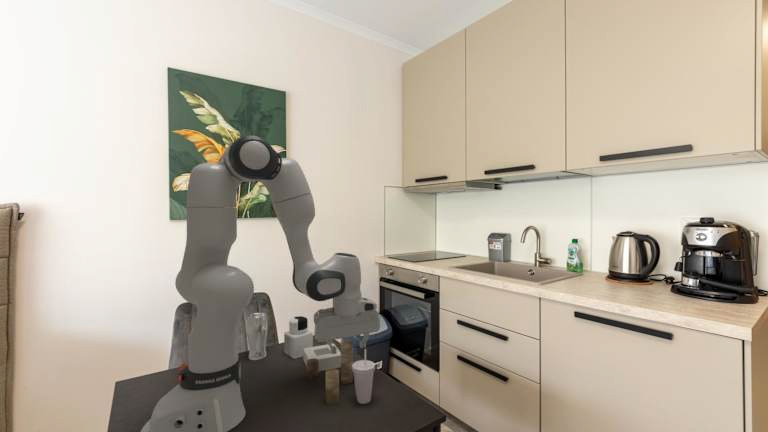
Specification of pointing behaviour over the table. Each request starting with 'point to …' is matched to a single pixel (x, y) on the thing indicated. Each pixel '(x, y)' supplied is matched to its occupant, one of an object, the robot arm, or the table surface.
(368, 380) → the smoothie
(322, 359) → the socket block
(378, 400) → the table surface
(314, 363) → the walnut pin
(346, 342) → the maple pin
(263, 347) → the beer glass
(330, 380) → the oak pin
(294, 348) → the container
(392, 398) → the table surface
